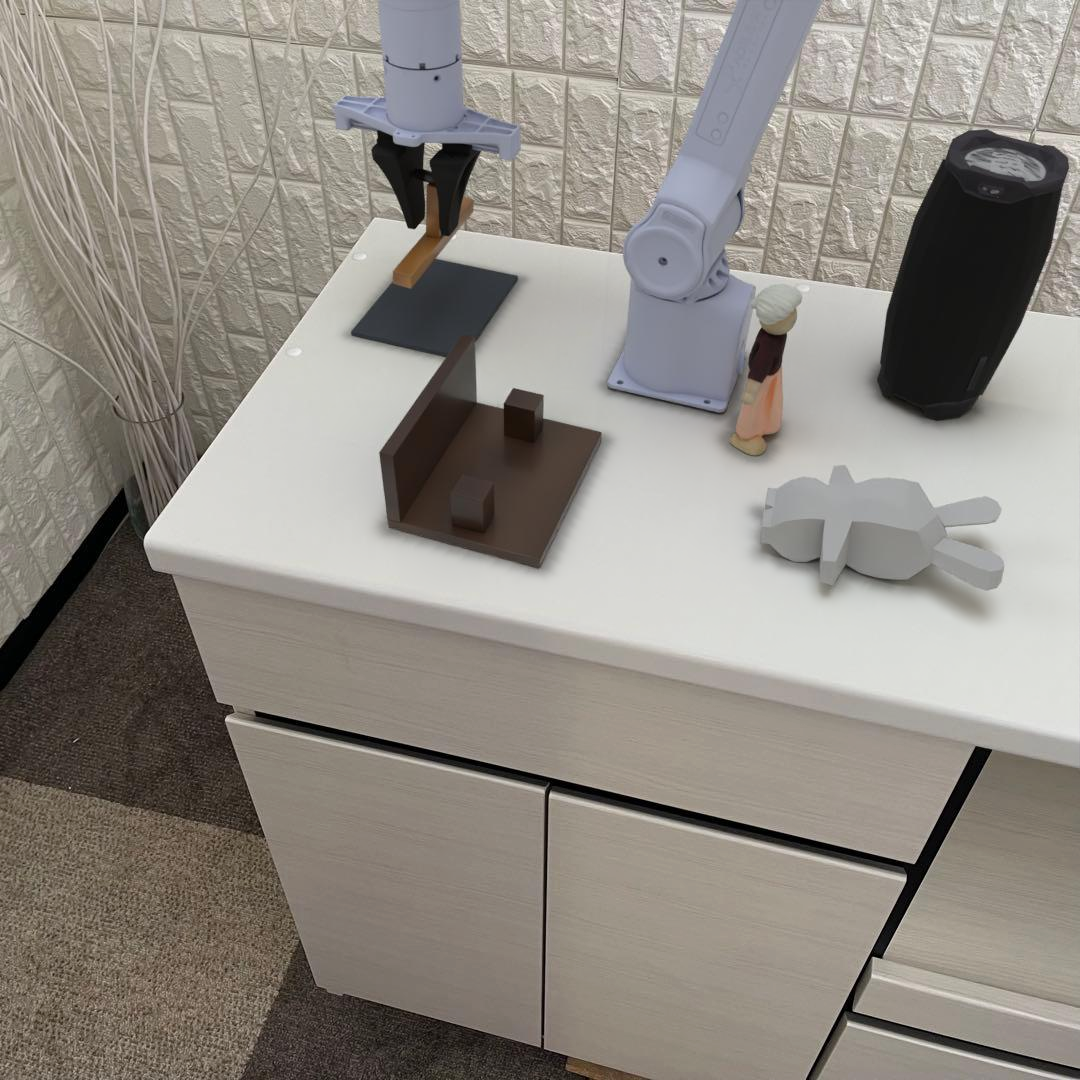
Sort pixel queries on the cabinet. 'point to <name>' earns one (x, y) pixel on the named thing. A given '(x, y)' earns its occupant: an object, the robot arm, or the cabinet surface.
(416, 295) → the pad
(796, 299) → the grandmother figurine
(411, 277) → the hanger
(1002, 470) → the cabinet surface
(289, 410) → the cabinet surface
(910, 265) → the portable speaker
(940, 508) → the bunny figurine
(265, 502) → the cabinet surface
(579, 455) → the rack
